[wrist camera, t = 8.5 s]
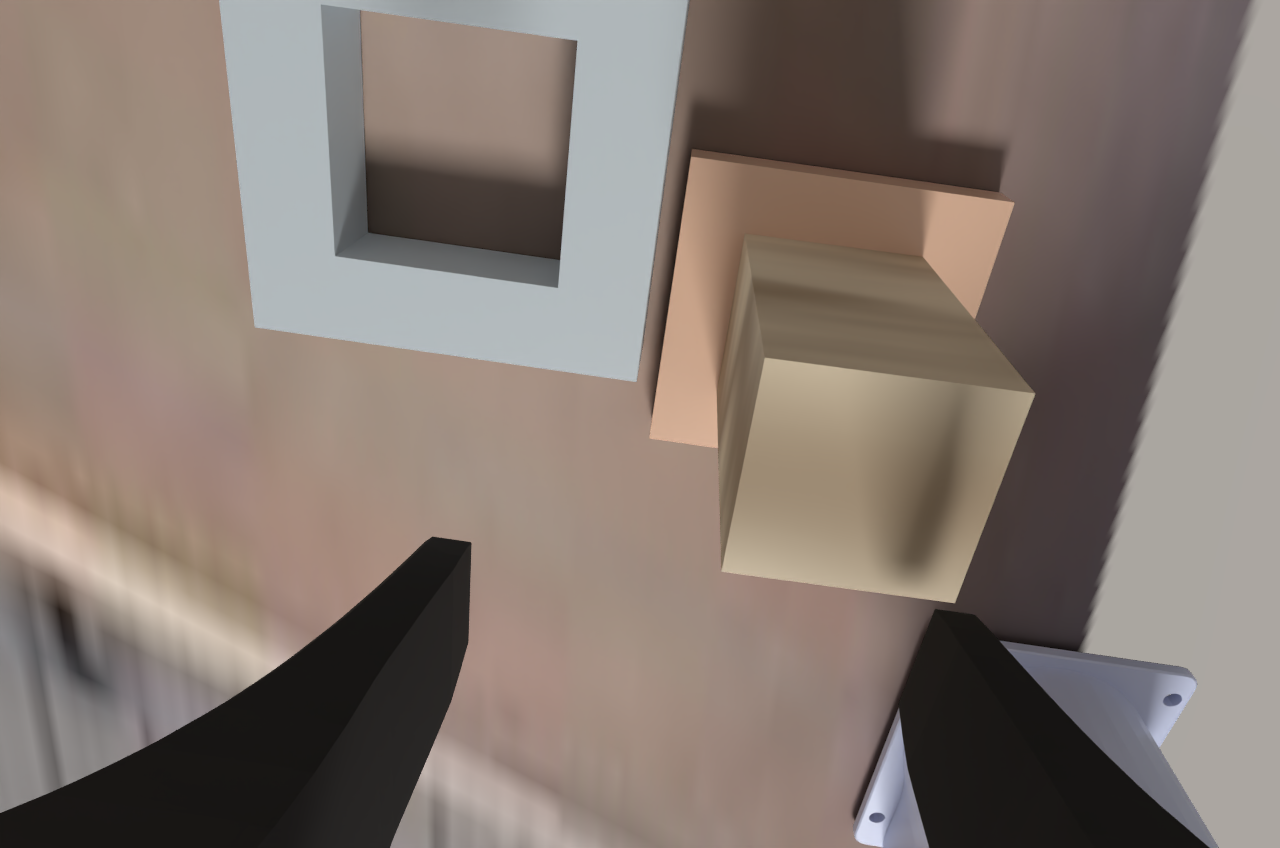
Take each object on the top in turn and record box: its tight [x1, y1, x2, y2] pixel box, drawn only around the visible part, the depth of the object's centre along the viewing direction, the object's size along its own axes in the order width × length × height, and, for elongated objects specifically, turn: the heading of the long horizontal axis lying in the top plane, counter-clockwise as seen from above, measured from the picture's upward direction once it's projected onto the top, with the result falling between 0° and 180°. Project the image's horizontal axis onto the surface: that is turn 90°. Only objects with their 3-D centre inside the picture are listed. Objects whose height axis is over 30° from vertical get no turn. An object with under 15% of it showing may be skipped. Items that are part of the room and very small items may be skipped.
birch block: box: [717, 233, 1035, 603], centre depth 16 cm, size 4×4×7 cm
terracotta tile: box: [649, 149, 1015, 448], centre depth 20 cm, size 7×7×1 cm
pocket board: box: [219, 0, 690, 382], centre depth 18 cm, size 9×9×2 cm
